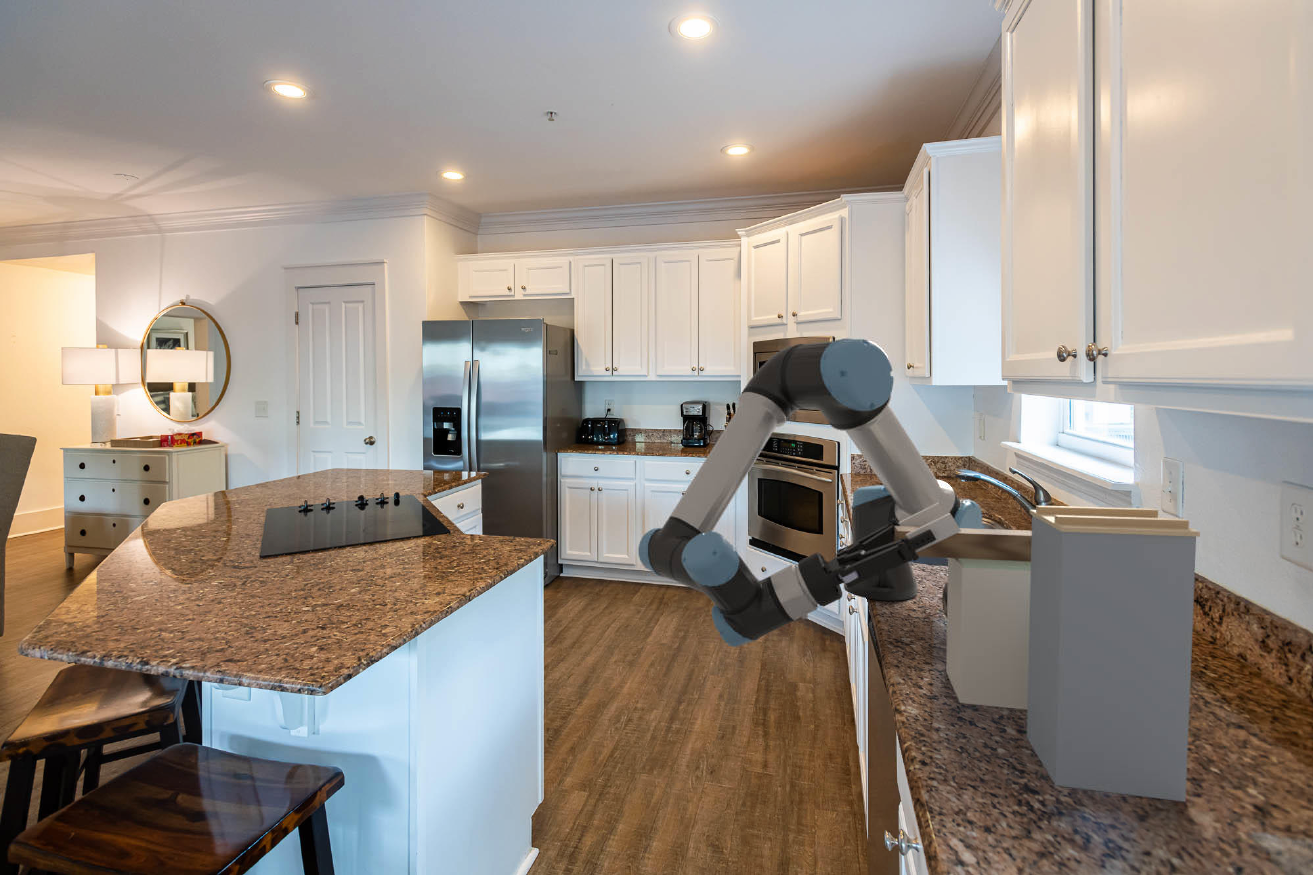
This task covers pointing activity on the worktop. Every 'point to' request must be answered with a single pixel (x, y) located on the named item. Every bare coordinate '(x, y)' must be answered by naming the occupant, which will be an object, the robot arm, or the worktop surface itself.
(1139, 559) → the pillar
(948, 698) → the worktop surface
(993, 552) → the walnut block
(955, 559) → the felt block
